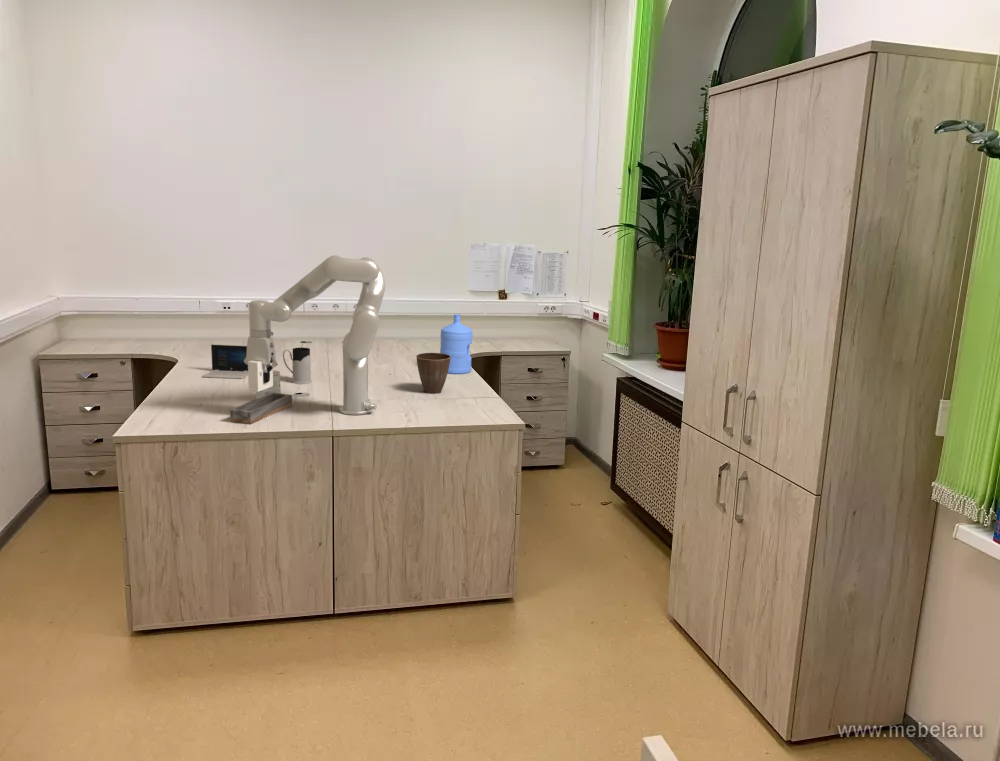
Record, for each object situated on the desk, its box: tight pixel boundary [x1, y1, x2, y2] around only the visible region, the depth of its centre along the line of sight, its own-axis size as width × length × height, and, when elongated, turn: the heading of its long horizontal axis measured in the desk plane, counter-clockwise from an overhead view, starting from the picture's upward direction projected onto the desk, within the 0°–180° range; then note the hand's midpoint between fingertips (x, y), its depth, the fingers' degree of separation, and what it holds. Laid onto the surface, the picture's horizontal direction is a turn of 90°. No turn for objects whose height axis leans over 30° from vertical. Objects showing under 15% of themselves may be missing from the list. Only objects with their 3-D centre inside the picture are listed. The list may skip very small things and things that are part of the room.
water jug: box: [439, 313, 473, 375], centre depth 374 cm, size 16×16×28 cm
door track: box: [229, 392, 293, 425], centre depth 291 cm, size 8×28×4 cm, turn 164°
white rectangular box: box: [247, 360, 274, 392], centre depth 287 cm, size 4×10×11 cm, turn 164°
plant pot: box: [415, 352, 451, 395], centre depth 333 cm, size 15×15×16 cm
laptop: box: [201, 344, 248, 380], centre depth 347 cm, size 18×12×13 cm
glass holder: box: [282, 347, 313, 385], centre depth 341 cm, size 9×14×15 cm, turn 68°
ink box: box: [255, 369, 282, 400], centre depth 309 cm, size 9×5×12 cm, turn 141°
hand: (261, 381), depth 288 cm, fingers closed on white rectangular box, 4 cm apart
